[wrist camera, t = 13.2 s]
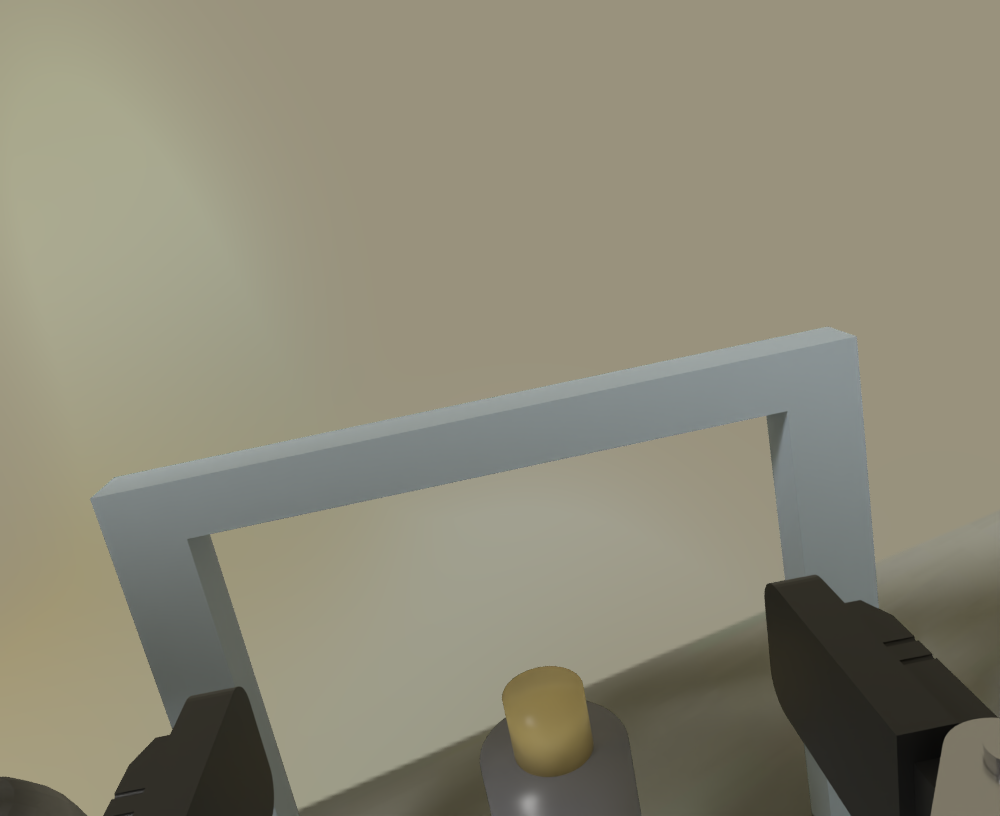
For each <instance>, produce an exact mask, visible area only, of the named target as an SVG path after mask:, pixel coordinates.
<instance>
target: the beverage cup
mask: <svg viewBox="0 0 1000 816" xmlns="http://www.w3.org/2000/svg"><path fill="white" fill-rule="evenodd" d="M0 816H87V815H86V814H85V813H84V812H83V811H82V810H81V809H80V808H79V807H78V806H77V805H75V804H74V803H73V802H72V801H70V800H69V799H68V798H67V797H66V796H64V795H63V794H61V793H59V792H57V791H55V790H53V789H51V788H49V787H47V786H44V785H40V784H37V783H33V782H29V781H24V780H20V779H15V778H10V777H0Z"/></svg>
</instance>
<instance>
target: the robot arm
mask: <svg viewBox="0 0 1000 816" xmlns="http://www.w3.org/2000/svg"><path fill="white" fill-rule="evenodd" d="M765 609H766V620H767V631H768V643H769V654H770V665H771V674H772V679H773V684H774V687H775V691H776V694H777V697H778V700H779V702H780V705H781V707H782V709H783V711H784V713H785V714H786V716H787V718H788V719H789V721H790V722H791V724H792V725H793V727H794V729H795V730H796V732H797V733H798V735H799V736H800V738H801V739H802V741H803V742H804V744H805V746H806V747H807V749H808V750H809V752H810V753H811V755H812V756H813V758H814V760H815V761H816V763H817V764H818V766H819V767H820V769H821V770H822V772H823V773H824V775H825V777H826V778H827V780H828V781H829V783H830V784H831V786H832V787H833V789H834V790H835V792H836V794H837V795H838V797H839V798H840V800H841V801H842V803H843V804H844V806H845V807H846V809H847V811H848V812H849V814H850V815H851V816H1000V718H998V717H997V716H996V715H995V714H994V713H993V712H992V711H991V710H989V709H988V708H987V707H986V706H985V705H984V704H983V703H982V702H981V701H980V700H979V699H978V698H977V697H976V696H975V695H974V694H973V693H972V692H971V691H970V690H969V689H968V688H967V687H966V686H965V685H964V684H963V683H962V682H961V681H960V680H959V679H958V678H957V677H955V676H954V675H953V674H952V673H951V672H950V671H949V670H948V669H947V668H946V667H945V666H944V665H943V664H942V663H941V662H940V661H939V660H938V659H937V658H936V659H934V658H933V656H932V653H931V652H930V651H929V650H928V649H927V648H926V647H925V646H924V645H923V644H922V643H920V642H919V641H915V638H914V636H913V635H912V634H911V633H910V632H909V631H908V630H907V629H906V628H905V627H904V626H903V625H902V624H901V623H900V622H899V621H898V620H897V619H896V618H895V617H894V616H893V615H891V614H889V613H887V612H885V611H882V610H880V609H878V608H876V607H874V606H872V605H870V604H868V603H866V602H864V601H862V600H857V601H852V602H847V603H844V602H843V601H842V599H841V598H840V597H839V596H838V595H837V594H836V593H835V592H834V591H833V590H832V589H831V588H830V587H829V586H828V585H827V584H826V583H825V582H824V581H823V579H822V578H820V577H819V576H818V575H809V576H804V577H799V578H794V579H789V580H784V581H780V582H774V583H769V584H767V585H766V588H765ZM273 809H274V786H273V778H272V773H271V769H270V765H269V762H268V759H267V756H266V752H265V749H264V746H263V743H262V739H261V736H260V733H259V730H258V726H257V723H256V720H255V717H254V713H253V710H252V707H251V704H250V701H249V698H248V695H247V693H246V691H245V690H244V689H243V688H242V687H240V686H238V687H233V688H228V689H223V690H218V691H213V692H208V693H203V694H198V695H192V696H190V697H189V698H188V699H187V700H186V702H185V704H184V706H183V708H182V710H181V712H180V715H179V717H178V719H177V721H176V723H175V725H174V727H173V730H172V732H171V734H170V735H167V736H162V737H158V738H155V739H154V740H153V741H152V742H151V743H150V744H149V745H148V746H147V747H146V748H145V750H143V752H141V754H140V755H139V756H138V757H137V758H136V759H135V760H134V761H133V762H132V763H131V764H130V765H129V766H128V769H127V770H126V772H125V774H124V776H123V778H122V780H121V782H120V784H119V786H118V788H117V790H116V792H115V799H112V800H111V802H110V804H109V806H108V808H107V810H106V812H105V813H104V815H103V816H272V815H273Z"/></svg>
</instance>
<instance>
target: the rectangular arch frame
mask: <svg viewBox="0 0 1000 816" xmlns="http://www.w3.org/2000/svg"><path fill="white" fill-rule="evenodd" d="M762 416H767V424H768V434H769V443H770V450H771V460H772V468H773V478H774V486H775V495H776V504H777V512H778V521H779V530H780V539H781V547H782V556H783V565H784V573H785V580H789V579H794V578H799V577H804V576H809V575H818V576H819V577H820V578H822V579H823V581H824V582H825V583H826V584H827V585H828V586H829V587H830V588H831V589H832V590H833V591H834V592H835V593H836V594H837V595H838V596H839V597H840V598H841V599H842V601H843V602H844V603H847V602H852V601H857V600H862V601H864V602H866V603H868V604H870V605H872V606H874V607H876V608H878V609H879V605H878V593H877V580H876V568H875V556H874V544H873V532H872V519H871V507H870V495H869V482H868V470H867V458H866V445H865V433H864V421H863V408H862V396H861V384H860V372H859V361H858V348H857V337H856V336H854V335H851V334H848V333H845V332H842V331H839V330H837V329H834V328H831V327H824V328H819V329H814V330H810V331H805V332H801V333H796V334H790V335H786V336H781V337H776V338H772V339H767V340H762V341H757V342H753V343H748V344H744V345H738V346H734V347H729V348H724V349H720V350H715V351H710V352H705V353H701V354H696V355H691V356H687V357H682V358H677V359H672V360H667V361H663V362H658V363H653V364H649V365H644V366H639V367H634V368H630V369H625V370H620V371H615V372H611V373H606V374H601V375H596V376H592V377H587V378H582V379H577V380H573V381H568V382H563V383H559V384H554V385H549V386H544V387H540V388H535V389H530V390H525V391H521V392H516V393H512V394H507V395H502V396H497V397H492V398H487V399H483V400H478V401H473V402H469V403H464V404H460V405H455V406H450V407H445V408H440V409H435V410H431V411H426V412H421V413H417V414H412V415H407V416H402V417H398V418H393V419H388V420H383V421H379V422H374V423H369V424H365V425H360V426H355V427H350V428H345V429H341V430H336V431H331V432H327V433H322V434H318V435H312V436H308V437H303V438H298V439H293V440H289V441H284V442H279V443H275V444H270V445H265V446H260V447H256V448H251V449H246V450H241V451H237V452H232V453H227V454H222V455H218V456H213V457H208V458H204V459H199V460H194V461H189V462H185V463H180V464H175V465H170V466H166V467H161V468H156V469H151V470H147V471H142V472H137V473H133V474H128V475H123V476H118V477H114V478H113V479H112V480H111V481H110V482H108V484H106V485H105V486H104V487H103V488H102V489H101V490H99V491H98V492H97V493H96V494H95V495H94V496H93V497H91V503H92V505H93V508H94V511H95V514H96V517H97V519H98V522H99V524H100V528H101V530H102V533H103V536H104V539H105V542H106V545H107V547H108V550H109V553H110V555H111V559H112V561H113V564H114V567H115V570H116V572H117V575H118V578H119V581H120V584H121V587H122V589H123V592H124V595H125V598H126V601H127V603H128V606H129V609H130V612H131V615H132V617H133V620H134V623H135V626H136V629H137V631H138V634H139V637H140V640H141V642H142V645H143V648H144V651H145V654H146V657H147V659H148V662H149V665H150V668H151V671H152V673H153V676H154V679H155V682H156V684H157V687H158V690H159V693H160V696H161V698H162V701H163V704H164V707H165V710H166V713H167V715H168V718H169V721H170V724H171V726H172V729H173V727H174V725H175V723H176V721H177V719H178V717H179V715H180V712H181V710H182V708H183V706H184V704H185V702H186V700H187V699H188V698H189V697H190V696H192V695H198V694H203V693H208V692H213V691H218V690H223V689H228V688H233V687H238V686H240V687H242V688H243V689H244V690H245V691H246V693H247V695H248V698H249V701H250V704H251V707H252V710H253V713H254V717H255V720H256V723H257V726H258V730H259V733H260V736H261V739H262V743H263V746H264V749H265V752H266V756H267V759H268V762H269V765H270V769H271V773H272V778H273V786H274V809H273V815H272V816H299V813H298V810H297V806H296V804H295V800H294V797H293V794H292V791H291V788H290V785H289V781H288V778H287V775H286V772H285V769H284V766H283V763H282V760H281V757H280V753H279V750H278V747H277V744H276V741H275V737H274V734H273V731H272V728H271V725H270V722H269V719H268V716H267V713H266V709H265V706H264V703H263V700H262V697H261V694H260V690H259V687H258V684H257V681H256V678H255V675H254V672H253V669H252V665H251V662H250V659H249V656H248V653H247V650H246V646H245V643H244V640H243V637H242V634H241V631H240V628H239V624H238V621H237V618H236V615H235V612H234V609H233V606H232V603H231V599H230V596H229V593H228V590H227V587H226V584H225V581H224V577H223V574H222V571H221V568H220V565H219V562H218V559H217V556H216V552H215V549H214V546H213V543H212V540H211V537H210V534H213V533H218V532H223V531H227V530H232V529H237V528H241V527H246V526H251V525H255V524H260V523H264V522H270V521H274V520H279V519H284V518H288V517H293V516H298V515H302V514H307V513H311V512H317V511H321V510H326V509H331V508H335V507H340V506H344V505H349V504H354V503H359V502H363V501H368V500H372V499H377V498H382V497H386V496H392V495H396V494H401V493H405V492H410V491H415V490H420V489H424V488H429V487H434V486H438V485H443V484H448V483H453V482H457V481H462V480H466V479H471V478H476V477H481V476H485V475H490V474H495V473H499V472H504V471H508V470H513V469H518V468H523V467H528V466H532V465H537V464H542V463H546V462H551V461H556V460H560V459H565V458H569V457H574V456H579V455H584V454H589V453H593V452H598V451H602V450H607V449H612V448H617V447H621V446H626V445H631V444H635V443H640V442H645V441H649V440H654V439H659V438H664V437H668V436H673V435H677V434H682V433H687V432H691V431H696V430H701V429H706V428H710V427H715V426H720V425H724V424H729V423H734V422H738V421H743V420H748V419H753V418H757V417H762ZM804 748H805V757H806V766H807V775H808V783H809V792H810V801H811V810H812V814H813V815H814V816H851V815H850V814H849V812H848V811H847V809H846V807H845V806H844V804H843V803H842V801H841V800H840V798H839V797H838V795H837V794H836V792H835V790H834V789H833V787H832V786H831V784H830V783H829V781H828V780H827V778H826V777H825V775H824V773H823V772H822V770H821V769H820V767H819V766H818V764H817V763H816V761H815V760H814V758H813V756H812V755H811V753H810V752H809V750H808V749H807V747H806V746H805V744H804Z"/></svg>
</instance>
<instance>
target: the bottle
mask: <svg viewBox="0 0 1000 816" xmlns="http://www.w3.org/2000/svg"><path fill="white" fill-rule="evenodd" d="M502 701H503V705H504V710H505V715H506V718H504V719H503V720H502V721H501V722H500V723H498V724H497V725H496V726H495V727H494V728H493V729H492V731H491V732H490V733H489V735H488V736H487V738H486V740H485V741H484V744H483V746H482V749H481V754H480V767H481V772H482V776H483V780H484V785H485V789H486V793H487V798H488V802H489V806H490V811H491V815H492V816H641V810H640V804H639V798H638V792H637V786H636V780H635V774H634V768H633V762H632V756H631V750H630V744H629V738H628V734H627V731H626V729H625V726H624V725H623V723H622V722H621V720H620V719H619V718H618V717H617V716H616V715H615V714H613V713H612V712H611V711H609V710H608V709H606V708H604V707H602V706H600V705H598V704H595V703H592V702H588V701H586V699H585V693H584V687H583V683H582V680H581V679H580V677H579V676H578V675H577V674H576V673H574V672H573V671H571V670H569V669H566V668H562V667H556V666H545V667H538V668H534V669H531V670H528V671H525V672H523V673H521V674H519V675H518V676H516V677H515V678H513V679H512V680H511V681H510V682H509V683H508V684H507V686H506V687H505V689H504V691H503V695H502Z"/></svg>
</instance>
